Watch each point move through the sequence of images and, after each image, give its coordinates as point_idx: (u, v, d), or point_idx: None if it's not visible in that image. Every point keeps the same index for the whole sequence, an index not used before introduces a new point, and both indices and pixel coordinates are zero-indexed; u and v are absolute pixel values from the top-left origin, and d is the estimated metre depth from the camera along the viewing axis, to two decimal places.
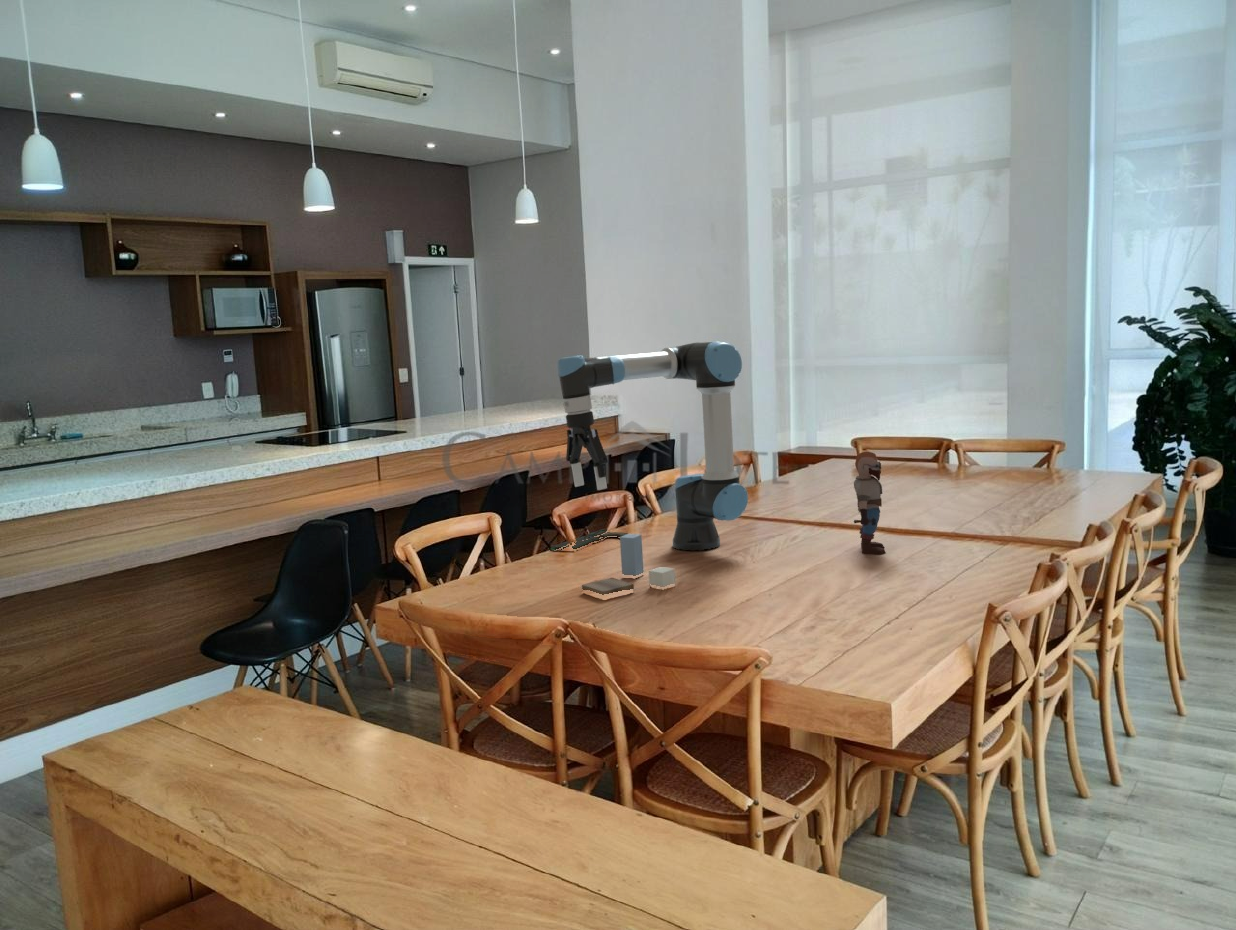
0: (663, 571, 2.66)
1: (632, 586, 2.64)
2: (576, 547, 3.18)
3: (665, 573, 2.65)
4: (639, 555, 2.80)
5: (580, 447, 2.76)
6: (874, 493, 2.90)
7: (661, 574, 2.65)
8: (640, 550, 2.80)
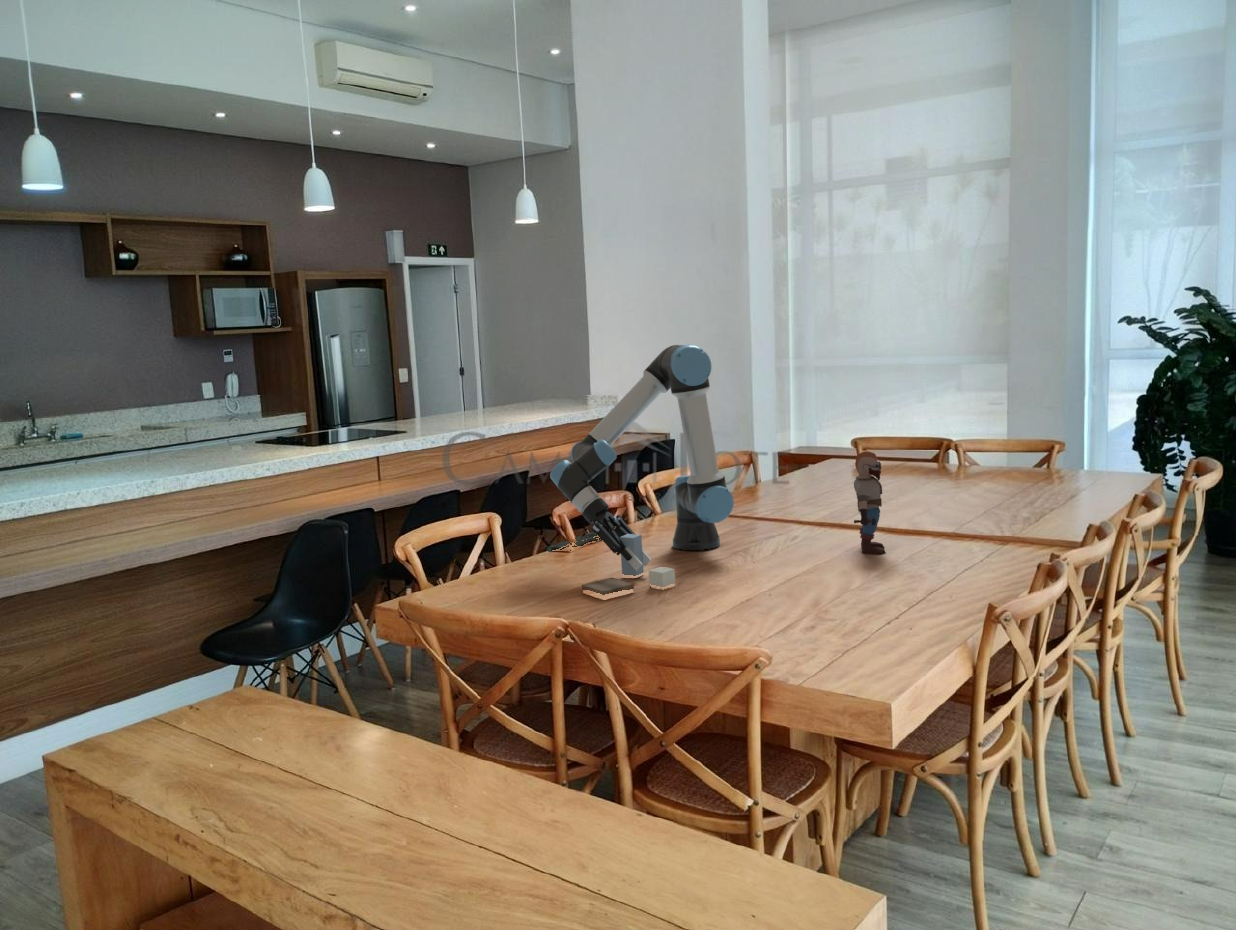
0: (663, 571, 2.66)
1: (632, 586, 2.64)
2: None
3: (665, 573, 2.65)
4: (639, 555, 2.80)
5: (619, 530, 2.83)
6: (874, 493, 2.90)
7: (661, 574, 2.65)
8: (640, 550, 2.80)
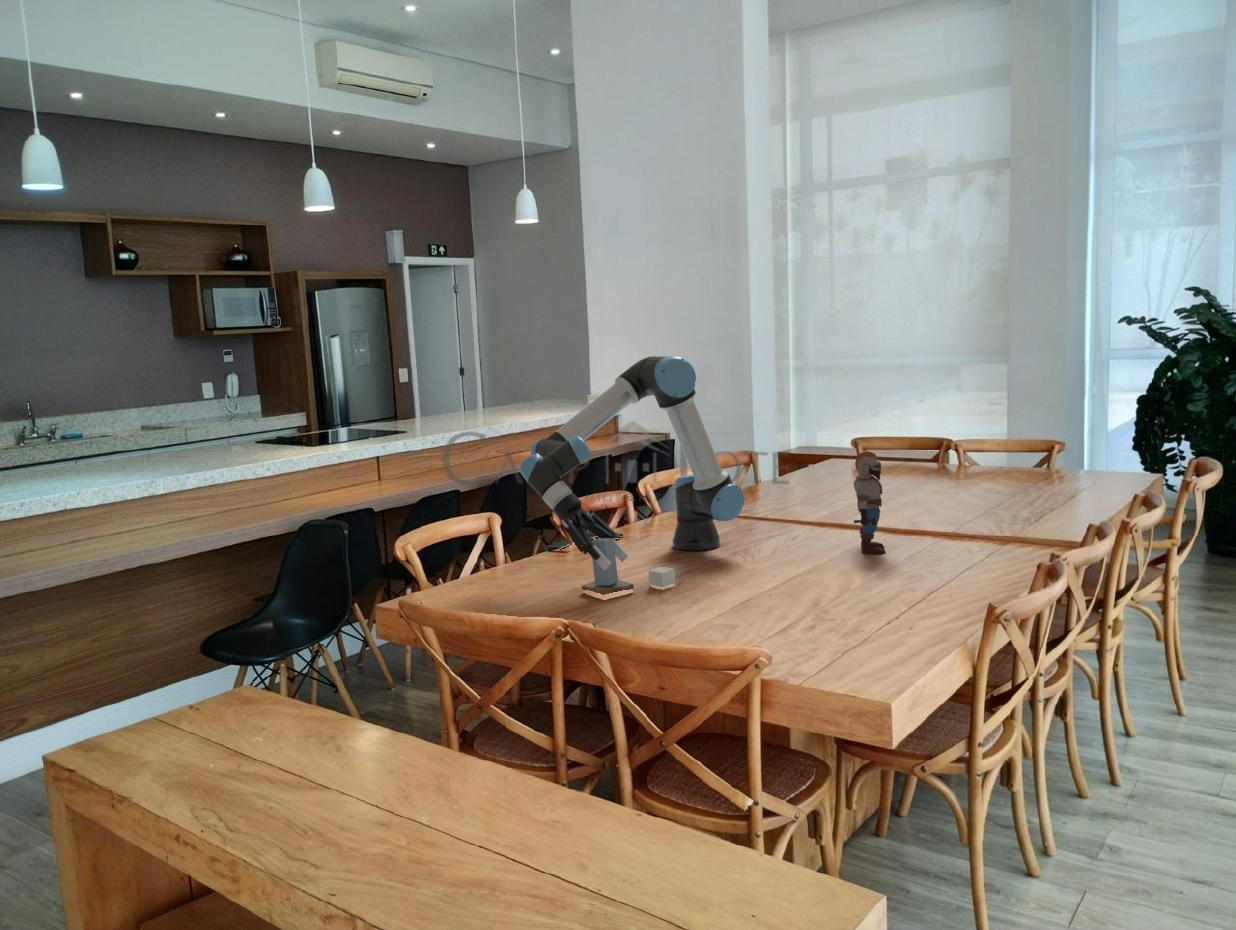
0: (663, 571, 2.66)
1: (632, 586, 2.64)
2: None
3: (665, 573, 2.65)
4: (612, 560, 2.64)
5: (594, 526, 2.68)
6: (874, 493, 2.90)
7: (661, 574, 2.65)
8: (613, 554, 2.65)
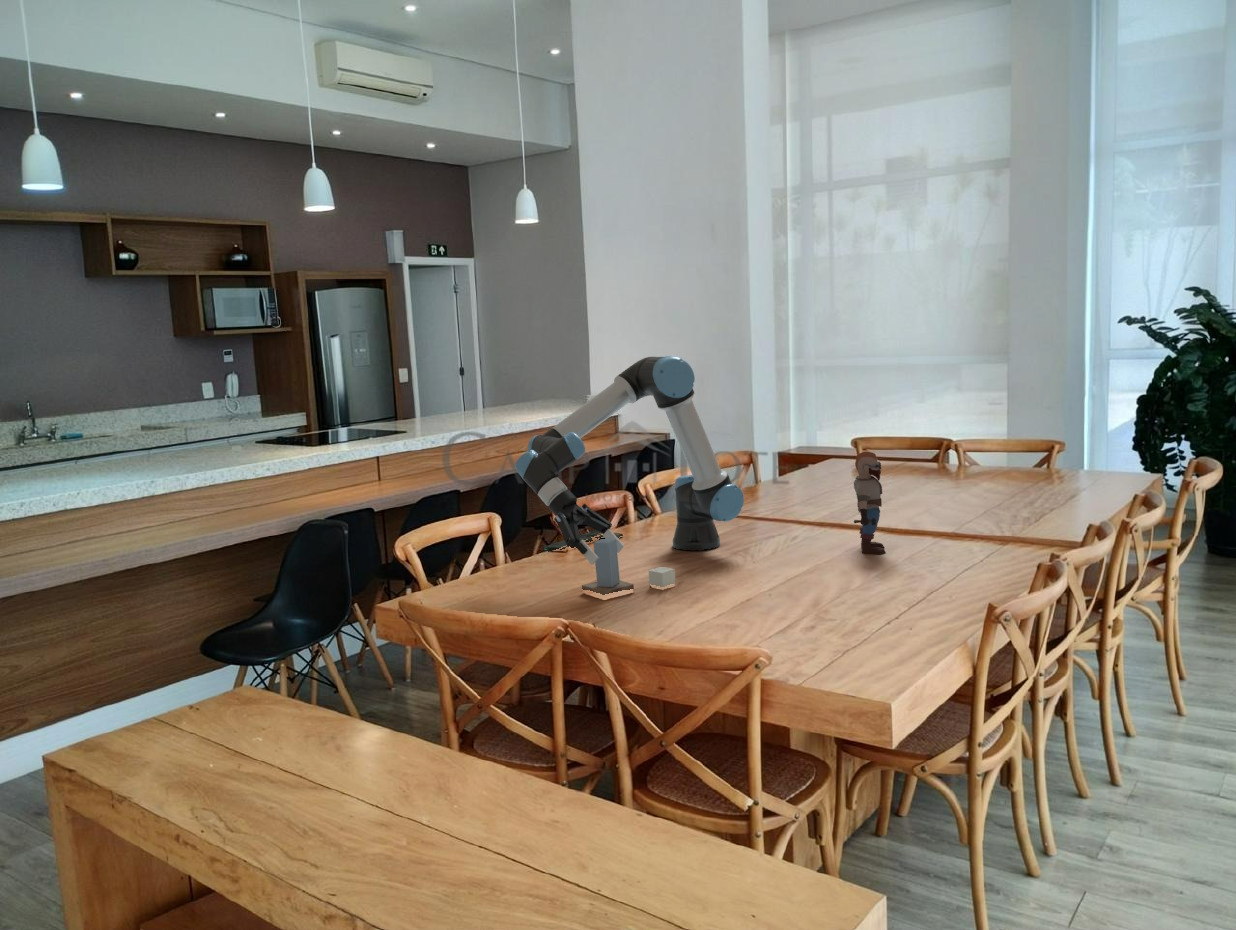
0: (663, 571, 2.66)
1: (632, 586, 2.64)
2: None
3: (665, 573, 2.65)
4: (614, 561, 2.64)
5: (590, 520, 2.69)
6: (874, 493, 2.90)
7: (661, 574, 2.65)
8: (615, 556, 2.64)
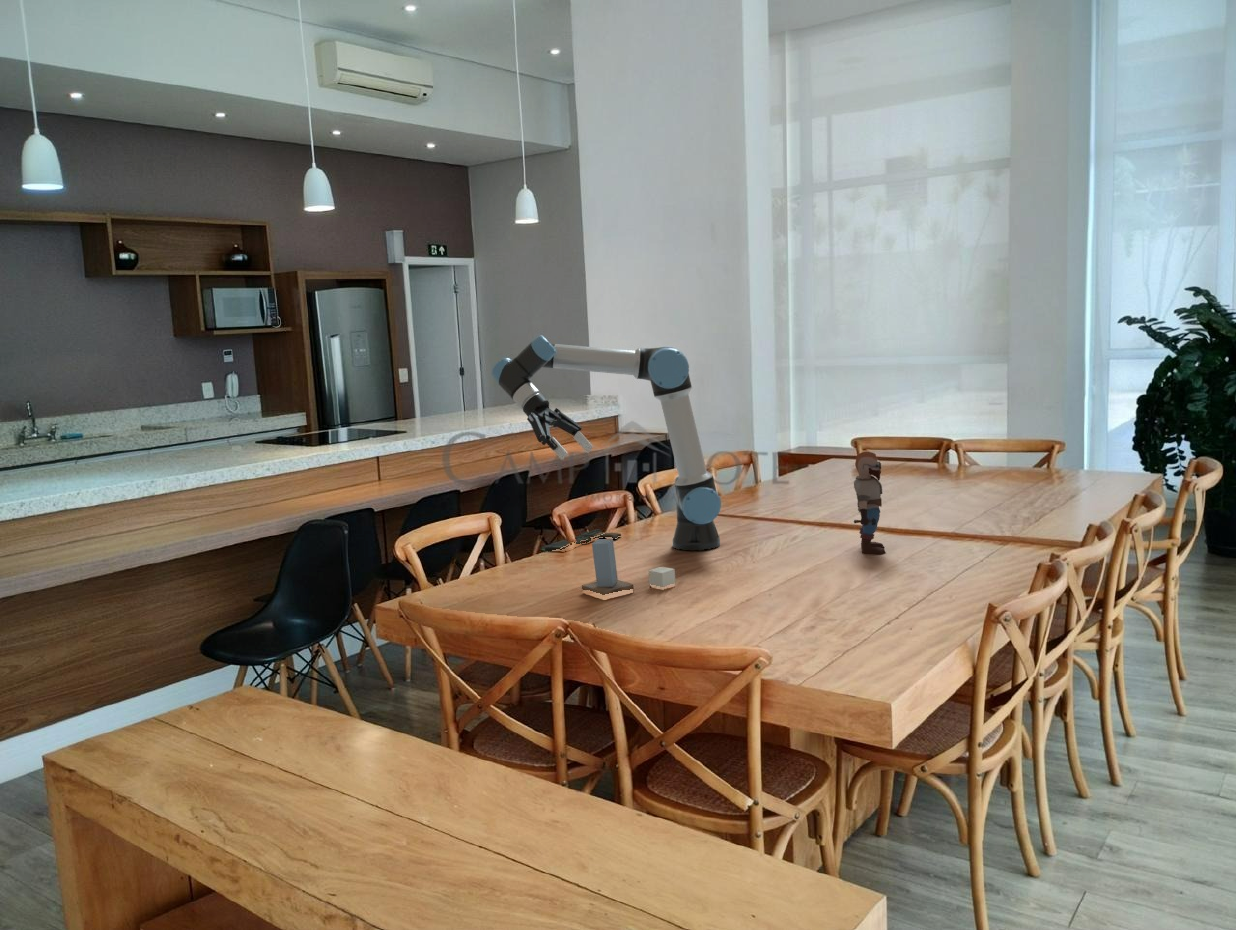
0: (663, 571, 2.66)
1: (632, 586, 2.64)
2: None
3: (665, 573, 2.65)
4: (613, 560, 2.64)
5: (561, 423, 2.89)
6: (874, 493, 2.90)
7: (661, 574, 2.65)
8: (613, 555, 2.64)
